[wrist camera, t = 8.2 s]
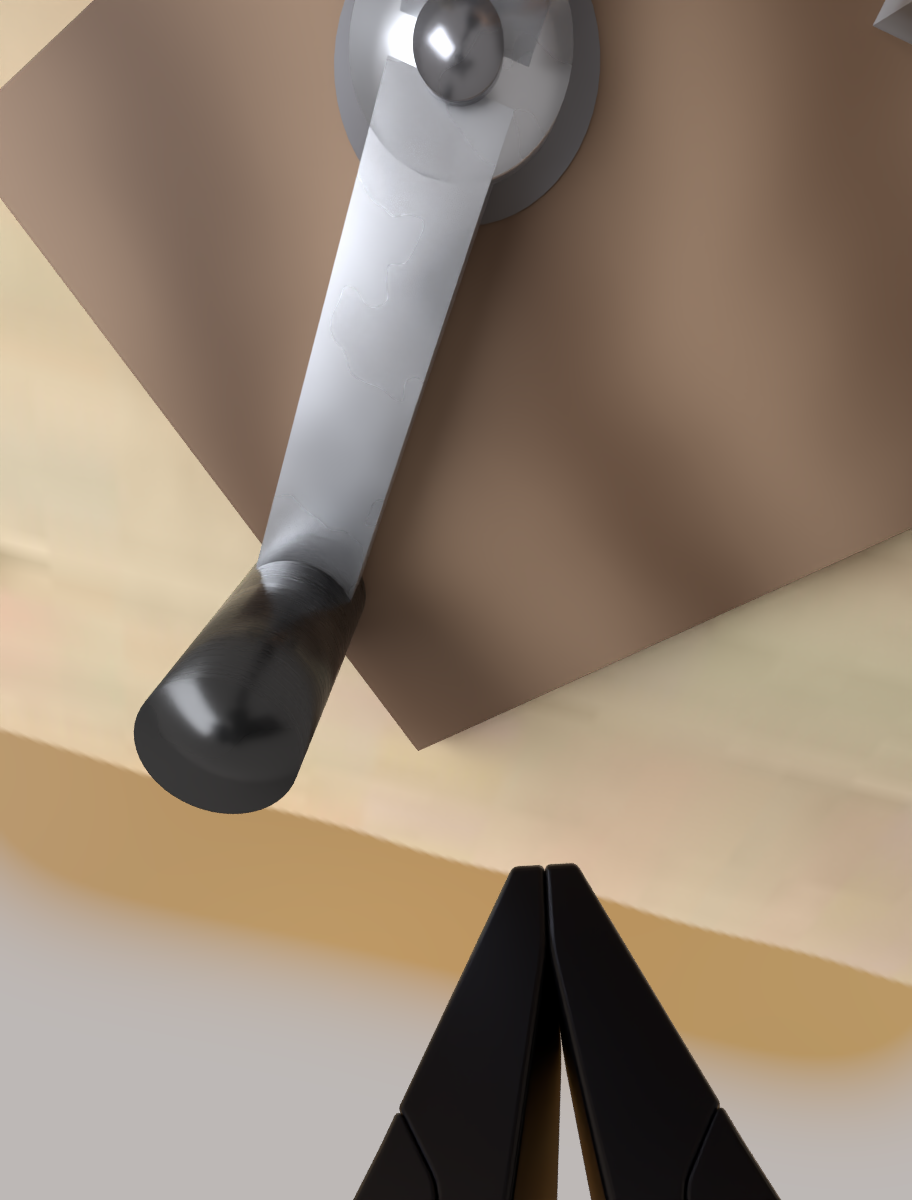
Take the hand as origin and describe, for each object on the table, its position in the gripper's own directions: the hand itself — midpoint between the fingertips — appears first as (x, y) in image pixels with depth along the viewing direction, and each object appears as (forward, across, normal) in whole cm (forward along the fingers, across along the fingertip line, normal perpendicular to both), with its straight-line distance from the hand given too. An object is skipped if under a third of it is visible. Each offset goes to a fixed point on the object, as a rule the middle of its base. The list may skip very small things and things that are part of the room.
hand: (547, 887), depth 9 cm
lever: (+9, +2, -7) cm, 11 cm away
